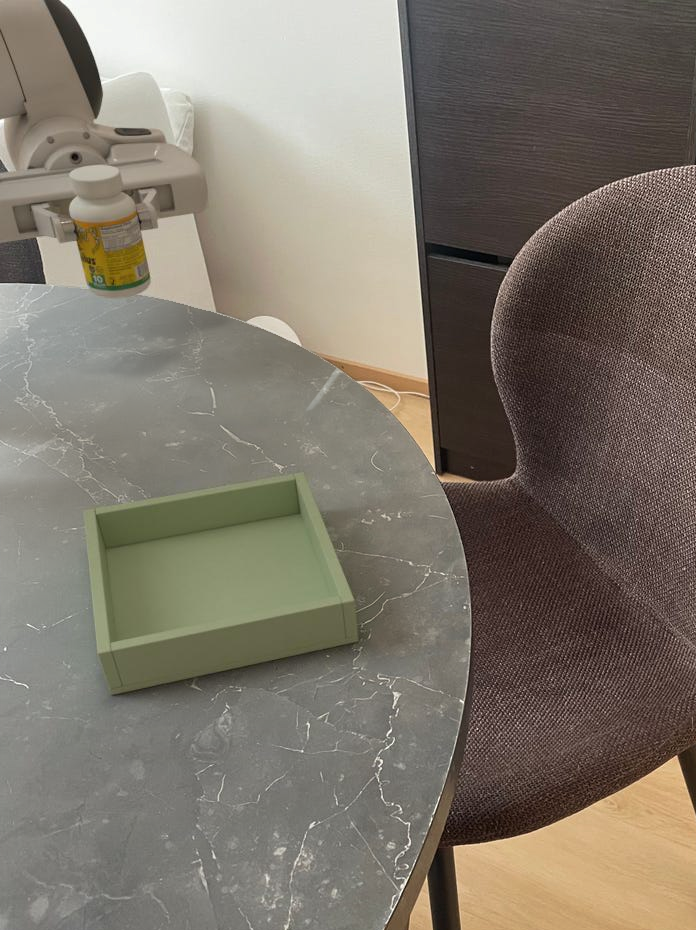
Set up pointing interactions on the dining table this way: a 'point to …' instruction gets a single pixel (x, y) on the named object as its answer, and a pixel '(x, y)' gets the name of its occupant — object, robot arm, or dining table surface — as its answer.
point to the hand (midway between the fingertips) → (108, 226)
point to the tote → (214, 582)
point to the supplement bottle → (108, 233)
